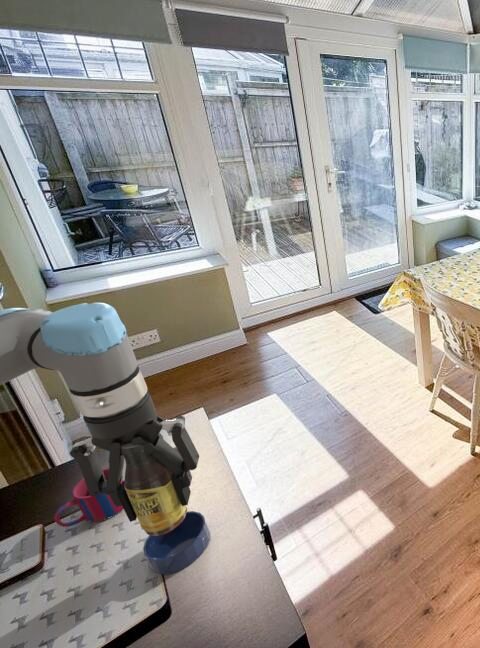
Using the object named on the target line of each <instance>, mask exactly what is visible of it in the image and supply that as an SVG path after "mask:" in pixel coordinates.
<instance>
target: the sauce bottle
mask: <svg viewBox="0 0 480 648" xmlns="http://www.w3.org/2000/svg"><path fill="white" fill-rule="evenodd" d="M144 449H145V447H144V445H143V444H141V445H136V446H135V445H134V444H133V443H128V444H123V445H122V446H121V453H122V454H123V456H124V462H125V470H124V478H123V481H124V488H125V490H126V493H127V495H128V497H129V500H130V502H131V504H132V506H133V509H134V511H135V513H136V516H137V518H136V519H137V520H138V523H139V525H140V527H141V529H142V530H143V531H144V532H145V533H146V535H148V536H149V535H150V536H159V535H162V534H166V533H169V532H171V531H172V530H173V529H174V528H176V527H177V526H178V525H179V524H180V523H181V522H182V521H183V520H184V518H185V516H186V513H187V512H188V507H187V505H185V506H182V504H181V502H180V499H179V497H178V495H177V492H176V490H175V487H174V485H173V482H172V477H173V474H174V473H173V472H171V471H170V470H169V469H168V468H167V467H166V466H164V465H163V464H162V463H161V462H160V461H159V460H157V459H156V458H155V457H154V456H153V455H152V454H150V455H148V454H147V453H145V452H144Z"/></svg>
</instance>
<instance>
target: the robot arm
mask: <svg viewBox="0 0 480 648" xmlns="http://www.w3.org/2000/svg"><path fill="white" fill-rule="evenodd" d="M37 368H40V369H44V370H45V369H46V370H50V371H58V372H59V373H60V374H61V376H62V378H63V380H64V382H65V384H66V386H67V388H68V390H69V392H70V394H71V396H72V399H73V400H74V402H75V404H76V407H77V408H78V411H79V412H80V414H81V415H82V419H83V421H84V423H85V425H86V428H87V429H88V431H89V434H90V435H91V437H88V438H86V437H79V438H77V440H76V441H75V443H74V445H73V446H72V448H71V449H70V451H69V455H70V456H71V457H72V458H73V459H74V460H75V461H77V463H78V465H79V468H80V471H81V474H82V477H83V479H84V480H85V483H86V486H87V488H88V491H89V494H90V496H92V497H95V496H98V495H99V494H103V493H106V494H107V495H110V497H111V499H112V501H113V503H114V505H115V506H116V507H119V506H122V507H123V511H124V513H125V515H126V517H127V519H128V521H129V522H130V523H131V522H134V521H135V522H136V520H137V519H138V518H137V516H136V513H135V511H134V509H133V506H132V504H131V502H130V500H129V497H128V495H127V493H126V490H125V488H124V480H123V482H122V484H121V480H122V479H124V476H123V471H124V464H125V458H124V456H123V454H122V453H121V446H122V445H123V444H128V443H133V444H134V445H135V446H136V445H141V444H143V445H144V447H145V449H144V452H145V453H147V454H148V455H150V454H152V455H153V456H154V457H155V458H156V459H157V460H159V461H160V462H161V463H162V464H163V465H164V466H166V467H167V468H168V469H169V470H170V471H171V472H173V473H174V474H173V477H172V482H173V485H174V487H175V490H176V492H177V495H178V497H179V499H180V502H181V504H182V506H185V505H186V506H188V504H189V502H190V497H191V493H192V490H191V488H190V487H191V484H192V479H193V475H192V472H191V471H194V470H196V469H197V467H198V463H199V460H200V454H199V452H198V450H197V448H196V446H195V444H194V442H193V440H192V437H191V436H190V434H189V433H188V430H187V428H186V426H185V425H186V424H185V423H186V417H185V416H184V415H178V416H176V418H175V419H166V420H164V419H163V418H162V417H161V416H159V415H158V412H157V409H156V407H155V404H154V401H153V399H152V396H151V394H150V391H148V386H147V383H146V380H145V378H144V376H143V373H142V371H141V369H140V367H139V364H138V361H137V357H136V355H135V353H134V349H133V347H132V344H131V341H130V339H129V336H128V333H127V328H126V326H125V324H124V323H123V321H121V318H120V316H119V314H118V312H117V310H116V308H115V307H113V306H112V305H110V304H107V303H105V302H92V303H87V302H85V303H78V304H74V305H69V306H67V307H63V308H61V309H58V310H56V311H53V312H52V311H49V310H45V309H41V308H25V307H9V308H5V309H1V310H0V386H2V385H4V384H6V383H8V382H11V381H12V380H14V379H16V378H18V377H21V376H22V375H25V374H27V373H28V372H31V371H32V370H35V369H37ZM162 430H164V431H166V433H167V435H168V436H169V437H171V439H172V442H173V444H174V446H175V447H176V448H177V449H178V451H179V453H180V454H179V453H178V452H177V451H176V450H175V449H174V448H175V447H173V446H172V445H170V444H169V443H168V442H167V441H166V440H165V439H164V436H163V434H162V433H161V432H162ZM96 447H97V448H99V449H102V450H105V451H108V452H109V454H108V468H109V472H108V480H106V479H105V476H104V473H103V470H102V469H103V466H102V463H101V460H100V457H99V455H98V451H97V449H96Z"/></svg>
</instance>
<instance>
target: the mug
mask: <svg viewBox="0 0 480 648" xmlns="http://www.w3.org/2000/svg"><path fill="white" fill-rule="evenodd" d="M102 470H103V473H104V476H105V479H106V480H108V472H109V467H108V468H102ZM123 481H124V478H122V480H121V484H122V482H123ZM71 492H72V493H71V495H72V497H73V500H70V501H68V502H66V503H64V504H63V505H62V506H60V507H59V508H58V509H57V510H56V511H55V513H54V517H53V519H54V521H55V523H56V524H57V525H58V526H60V527H64V528H69V527H72V526H76V525H78V524H80V523H82V522H84V521H87V522H89V521H91V522H90V523H99V522H98V521H100V522H102V521H101V520H104V519H106V520H108V519H107V518H108V517H111V516H113V515H114V516H116V515H118V514H119V513H120V512H122V511H123V510H124V509H123V507H122V506H119V507H116V506H115V505H114V503H113V501H112V499H111V497H110V495H107V494H106V493H103V494H99V495H98V496H95V497H92V496H90V494H89V491H88V488H87V486H86V483H85V480H84V478H82V479H81V480H79V482H78V483H77V484H76V485H75V486H74V487H73V489H72V491H71ZM75 505H76V506H78V508H79V510H80V512H81V514H82V515H81V516H80V517H78V518H77V519H74V520H71V521H68V522H62V521H61V519H60V517H61V514H62V513H63V512H64V510H66V509H67V508H70V507H72V506H75ZM122 509H123V510H122ZM118 512H119V513H118ZM117 513H118V514H117ZM115 514H116V515H115ZM114 516H113V517H114ZM111 518H112V517H111ZM104 521H105V520H104Z"/></svg>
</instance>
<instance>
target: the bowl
mask: <svg viewBox="0 0 480 648" xmlns="http://www.w3.org/2000/svg"><path fill="white" fill-rule="evenodd" d="M210 541H211V531H210V528H209V526H208V523H207V521H206V518H205V515H203V514H202V513H201V512H199V511H194V510H192V511H191V510H189V511H187V513H186V516H185V518H184V520H183V521H182V522H181V523H180V524H179V525H178V526H177V527H176V528H174V529H173V530H172V531H171V532H169V533H166V534H162V535H159V536H150V535H148V536H147V538H146V540H145V542H144V544H143V547H142V549H143V555H144V557H145V559H146V561H147V563H148V566H149V567H150V569H151V570H152V572H154V573H155V574H158V575H171V574H174V573H178V572H180V571H182V570H184V569H186V568H188V567H189V566H190V565H192V564H193V563H195V562H196V561H197V560H198V559H199V558H200V557H201V556H202V555H203V554H204V552H205V551H206V550H207V548H208V546H209V544H210Z"/></svg>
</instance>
